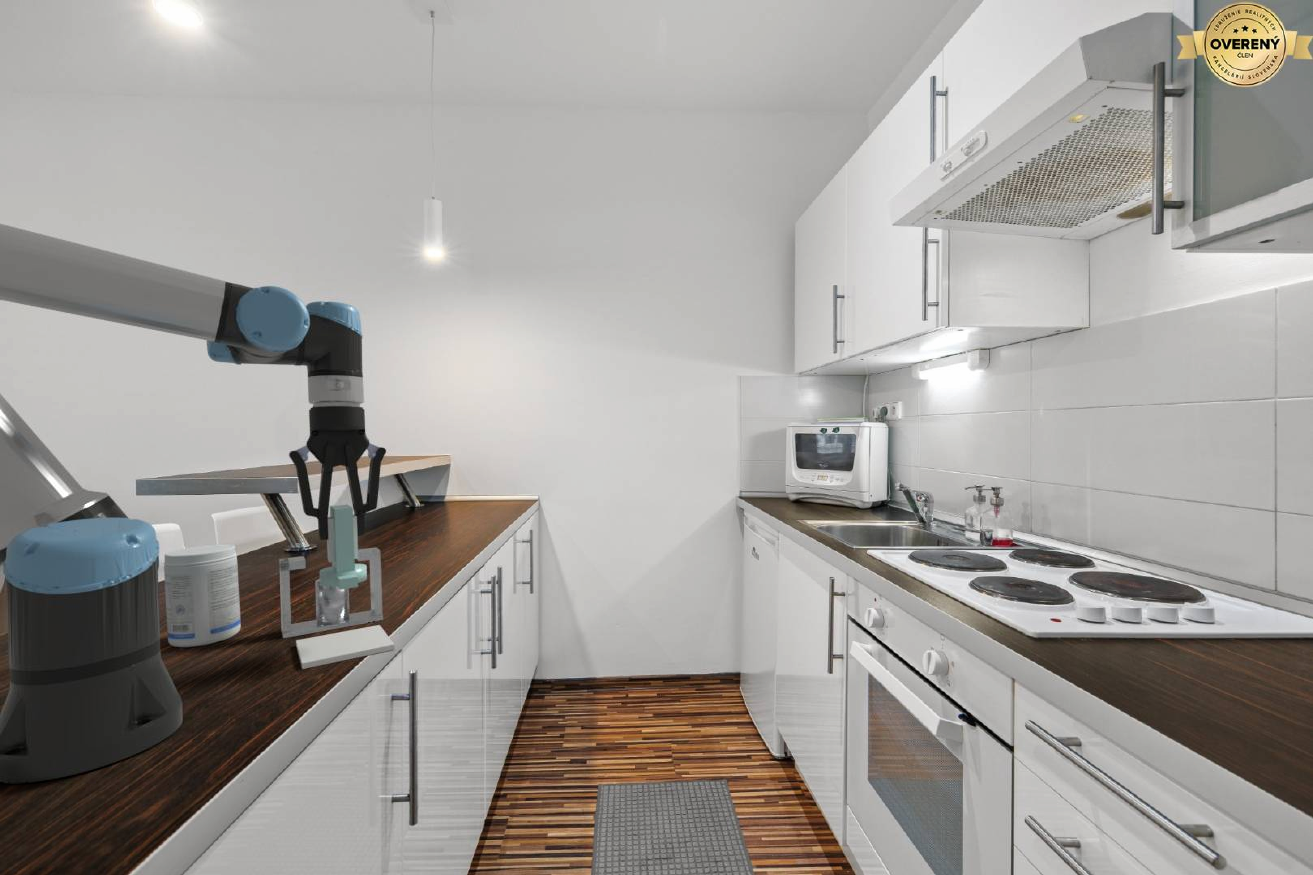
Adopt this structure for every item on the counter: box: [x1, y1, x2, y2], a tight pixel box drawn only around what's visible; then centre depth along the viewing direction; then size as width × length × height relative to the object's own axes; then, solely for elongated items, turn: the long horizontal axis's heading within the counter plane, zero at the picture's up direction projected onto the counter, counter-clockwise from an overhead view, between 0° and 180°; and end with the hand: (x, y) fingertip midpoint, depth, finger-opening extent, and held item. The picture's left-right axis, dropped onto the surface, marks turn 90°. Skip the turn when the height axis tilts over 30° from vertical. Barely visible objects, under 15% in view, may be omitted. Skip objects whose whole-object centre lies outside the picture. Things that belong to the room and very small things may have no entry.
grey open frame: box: [278, 546, 384, 639], centre depth 103 cm, size 15×5×12 cm, turn 125°
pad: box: [295, 624, 395, 670], centre depth 92 cm, size 12×12×1 cm
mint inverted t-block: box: [319, 503, 368, 590], centre depth 92 cm, size 11×6×12 cm, turn 35°
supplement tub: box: [163, 543, 242, 648], centre depth 98 cm, size 10×10×15 cm
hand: (342, 558), depth 92 cm, fingers closed on mint inverted t-block, 2 cm apart
